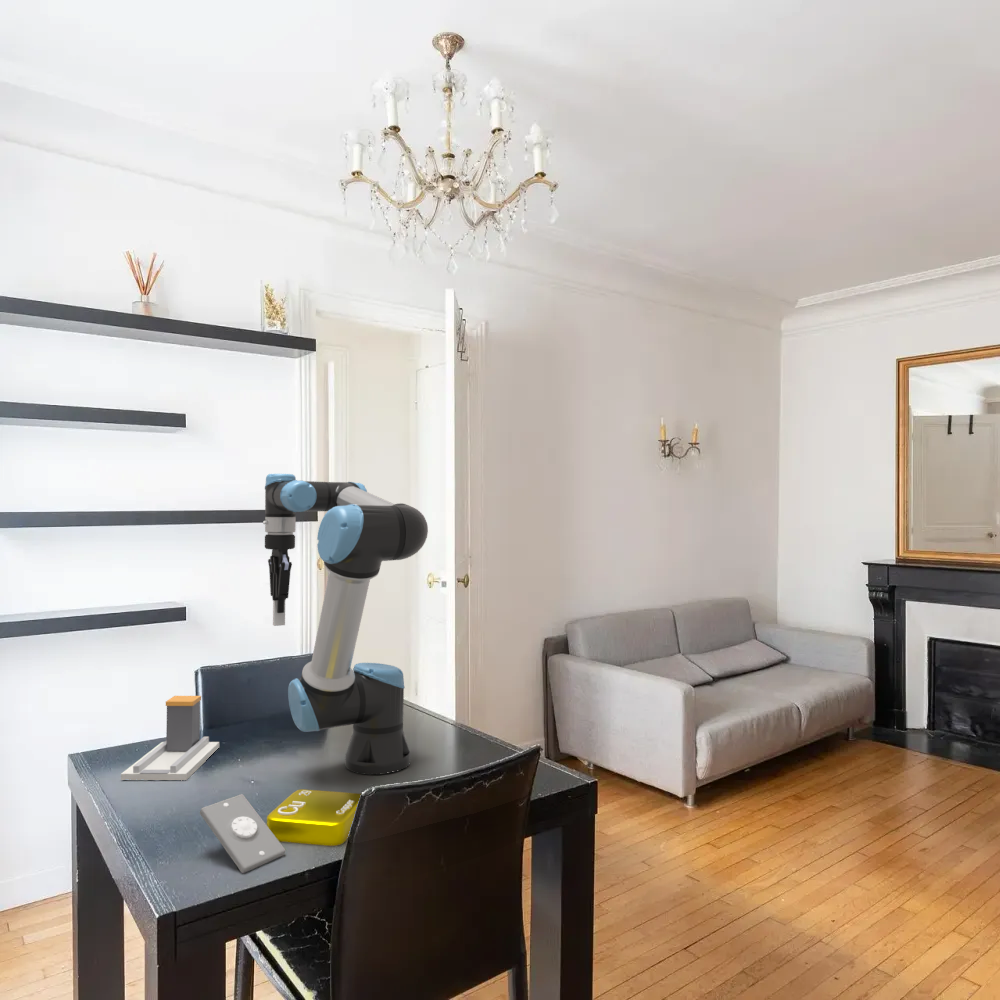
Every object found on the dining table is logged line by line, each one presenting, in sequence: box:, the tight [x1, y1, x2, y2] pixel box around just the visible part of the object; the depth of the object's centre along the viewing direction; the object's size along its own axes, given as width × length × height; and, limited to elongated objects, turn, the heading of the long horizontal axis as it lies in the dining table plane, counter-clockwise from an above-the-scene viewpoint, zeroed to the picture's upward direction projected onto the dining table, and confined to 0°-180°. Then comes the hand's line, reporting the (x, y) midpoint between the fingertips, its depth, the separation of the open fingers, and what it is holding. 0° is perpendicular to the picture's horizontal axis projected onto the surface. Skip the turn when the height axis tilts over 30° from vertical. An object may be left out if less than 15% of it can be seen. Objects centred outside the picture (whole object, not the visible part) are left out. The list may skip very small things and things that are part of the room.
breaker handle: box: [165, 695, 202, 751], centre depth 184 cm, size 5×6×12 cm
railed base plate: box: [120, 736, 220, 782], centre depth 178 cm, size 22×14×3 cm, turn 2°
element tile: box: [266, 788, 362, 847], centre depth 145 cm, size 15×15×5 cm
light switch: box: [199, 793, 286, 874], centre depth 134 cm, size 8×6×14 cm
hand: (278, 625), depth 197 cm, fingers closed
